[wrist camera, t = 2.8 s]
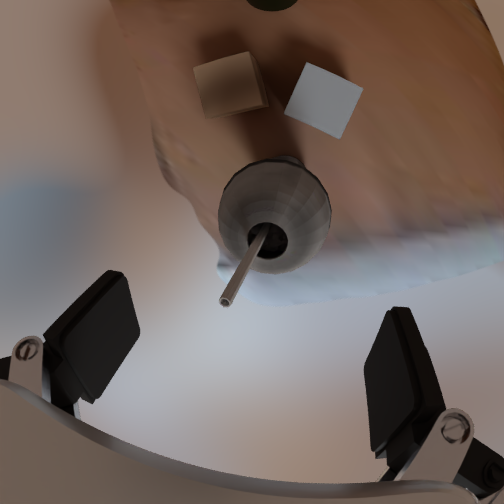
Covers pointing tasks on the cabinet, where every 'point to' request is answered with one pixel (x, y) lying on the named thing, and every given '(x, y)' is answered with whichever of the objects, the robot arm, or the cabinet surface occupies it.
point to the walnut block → (230, 86)
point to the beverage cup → (272, 219)
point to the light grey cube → (323, 100)
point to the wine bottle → (272, 4)
